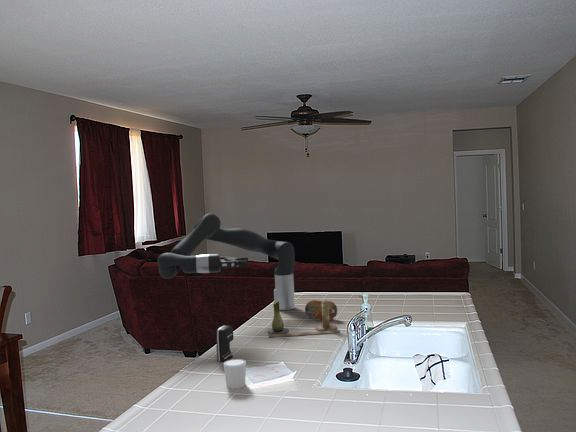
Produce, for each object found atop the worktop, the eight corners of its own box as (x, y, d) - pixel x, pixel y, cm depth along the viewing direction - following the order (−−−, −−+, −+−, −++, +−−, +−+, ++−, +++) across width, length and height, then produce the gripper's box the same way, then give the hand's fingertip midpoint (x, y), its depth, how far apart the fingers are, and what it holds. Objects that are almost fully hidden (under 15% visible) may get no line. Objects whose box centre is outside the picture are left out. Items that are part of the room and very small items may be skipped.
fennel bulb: (278, 328, 217) (276, 299, 216) (287, 329, 214) (285, 300, 213) (269, 331, 212) (267, 302, 212) (278, 332, 209) (276, 303, 209)
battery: (226, 362, 177) (224, 330, 176) (216, 361, 178) (215, 329, 178) (235, 356, 183) (234, 324, 183) (226, 355, 185) (224, 324, 184)
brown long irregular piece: (268, 337, 205) (267, 308, 204) (267, 329, 217) (265, 301, 217) (340, 333, 207) (339, 303, 207) (334, 325, 220) (333, 297, 219)
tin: (305, 318, 234) (304, 300, 233) (308, 317, 237) (307, 298, 236) (335, 321, 227) (335, 302, 226) (338, 319, 230) (337, 300, 229)
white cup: (238, 390, 151) (236, 367, 151) (219, 387, 155) (218, 364, 154) (251, 383, 157) (250, 360, 157) (234, 379, 161) (232, 357, 160)
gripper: (206, 256, 202) (248, 254, 204) (208, 252, 216) (247, 250, 218) (207, 275, 203) (248, 273, 204) (209, 270, 217) (248, 267, 218)
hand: (248, 261), depth 211 cm, fingers open, 8 cm apart
